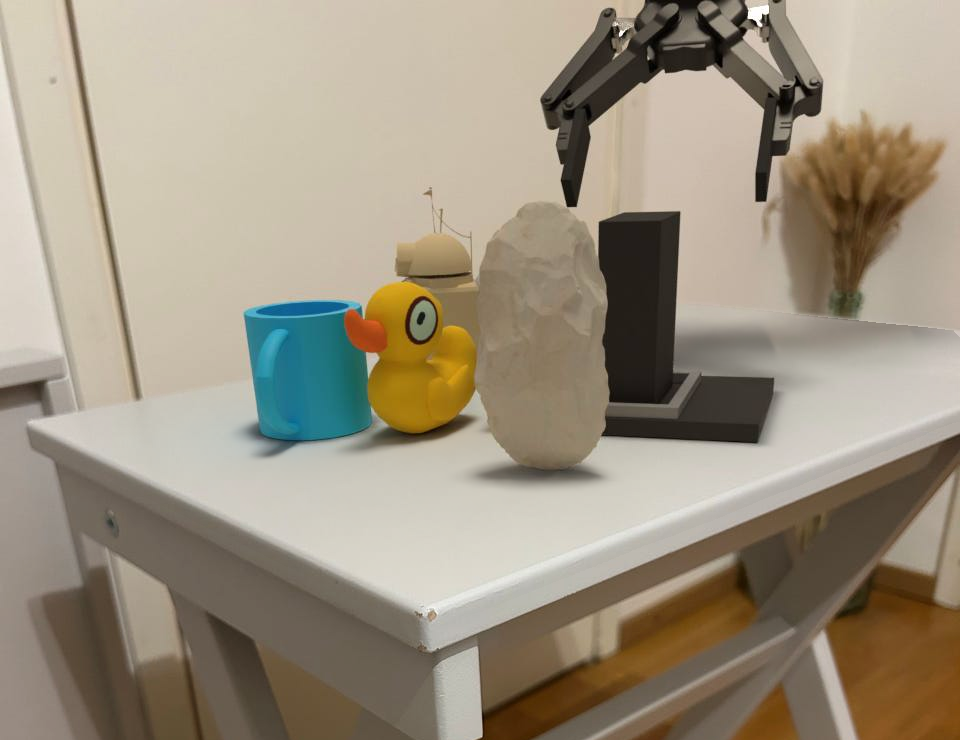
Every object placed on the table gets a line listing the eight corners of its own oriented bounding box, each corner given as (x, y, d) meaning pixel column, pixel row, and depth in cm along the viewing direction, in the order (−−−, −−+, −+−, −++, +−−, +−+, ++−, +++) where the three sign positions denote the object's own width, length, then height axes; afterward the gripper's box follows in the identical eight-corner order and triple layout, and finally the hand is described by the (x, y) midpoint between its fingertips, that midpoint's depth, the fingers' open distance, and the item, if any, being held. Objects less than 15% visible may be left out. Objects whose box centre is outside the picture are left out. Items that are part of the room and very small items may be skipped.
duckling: (388, 456, 64) (374, 294, 60) (332, 444, 68) (315, 289, 63) (499, 418, 72) (494, 272, 68) (444, 409, 75) (436, 269, 71)
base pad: (773, 393, 76) (775, 366, 75) (757, 442, 64) (760, 411, 63) (545, 385, 81) (545, 360, 80) (492, 429, 69) (491, 401, 68)
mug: (286, 410, 77) (272, 300, 73) (386, 412, 75) (377, 299, 71) (214, 454, 67) (194, 328, 63) (328, 457, 65) (314, 328, 61)
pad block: (672, 386, 74) (680, 211, 69) (653, 411, 67) (661, 220, 62) (619, 384, 75) (623, 212, 70) (596, 409, 68) (598, 221, 63)
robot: (387, 370, 89) (372, 187, 83) (476, 364, 90) (469, 182, 83) (389, 395, 80) (373, 192, 73) (489, 389, 81) (482, 187, 74)
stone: (611, 456, 62) (617, 195, 56) (606, 482, 58) (611, 201, 51) (488, 454, 64) (478, 200, 57) (473, 480, 59) (461, 206, 52)
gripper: (867, -3, 76) (843, 224, 70) (552, 24, 84) (506, 231, 78) (879, -102, 69) (852, 141, 63) (534, -63, 77) (482, 157, 71)
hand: (661, 191), depth 70 cm, fingers open, 13 cm apart
